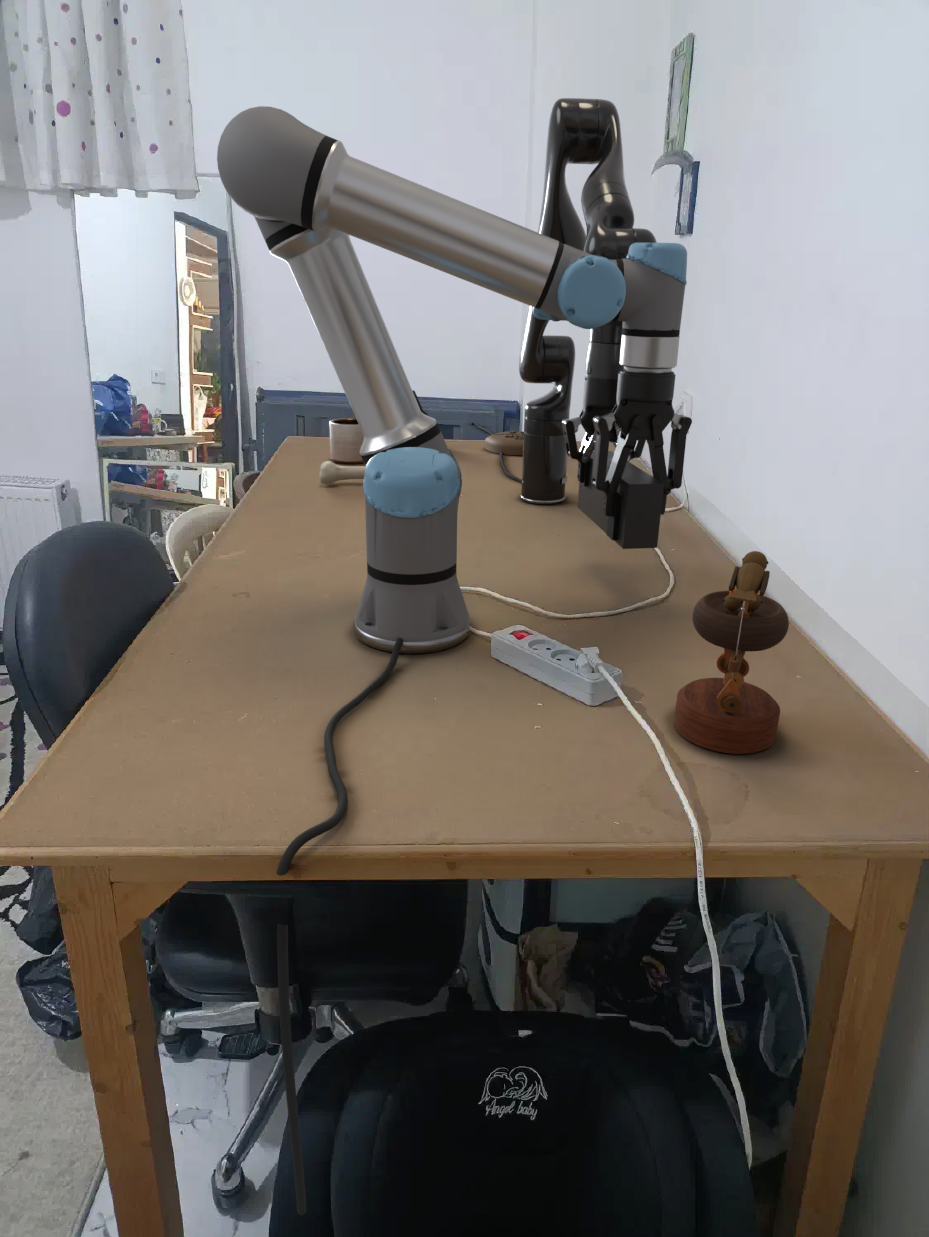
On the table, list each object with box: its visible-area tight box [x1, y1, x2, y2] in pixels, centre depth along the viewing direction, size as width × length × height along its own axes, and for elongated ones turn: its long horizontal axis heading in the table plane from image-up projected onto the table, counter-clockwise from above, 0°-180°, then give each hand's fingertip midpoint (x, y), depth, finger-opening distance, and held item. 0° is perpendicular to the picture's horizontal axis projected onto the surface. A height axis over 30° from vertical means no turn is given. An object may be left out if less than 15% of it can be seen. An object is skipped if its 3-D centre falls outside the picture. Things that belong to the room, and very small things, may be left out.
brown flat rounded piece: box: [484, 430, 524, 456], centre depth 224 cm, size 21×28×4 cm
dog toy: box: [318, 460, 365, 485], centre depth 190 cm, size 20×6×5 cm, turn 99°
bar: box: [577, 450, 664, 550], centre depth 127 cm, size 23×5×9 cm, turn 9°
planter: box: [328, 417, 364, 464], centre depth 212 cm, size 11×11×10 cm
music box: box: [673, 550, 790, 755], centre depth 87 cm, size 15×11×20 cm
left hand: (631, 536), depth 121 cm, fingers closed on bar, 5 cm apart
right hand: (601, 484), depth 133 cm, fingers closed on bar, 5 cm apart
